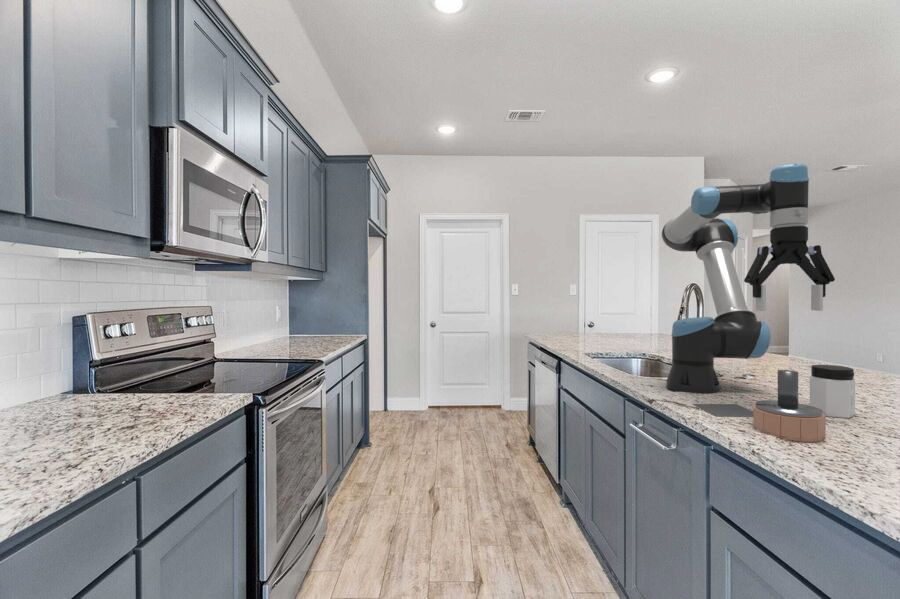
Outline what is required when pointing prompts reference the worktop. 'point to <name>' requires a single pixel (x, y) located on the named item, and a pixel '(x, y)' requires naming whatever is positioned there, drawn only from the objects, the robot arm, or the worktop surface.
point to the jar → (833, 390)
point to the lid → (788, 399)
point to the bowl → (790, 426)
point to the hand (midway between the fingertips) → (788, 310)
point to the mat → (725, 410)
